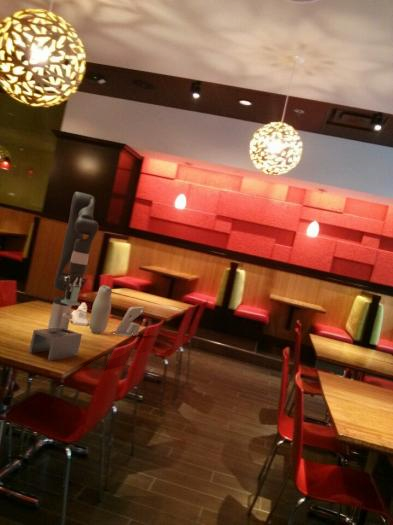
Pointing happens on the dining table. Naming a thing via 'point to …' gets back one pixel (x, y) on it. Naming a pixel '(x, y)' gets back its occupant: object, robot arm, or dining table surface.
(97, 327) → the grey vase
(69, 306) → the boxy toy figurine
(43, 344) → the grey open box
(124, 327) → the phone holder
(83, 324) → the soft serve ice cream
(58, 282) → the robot arm
